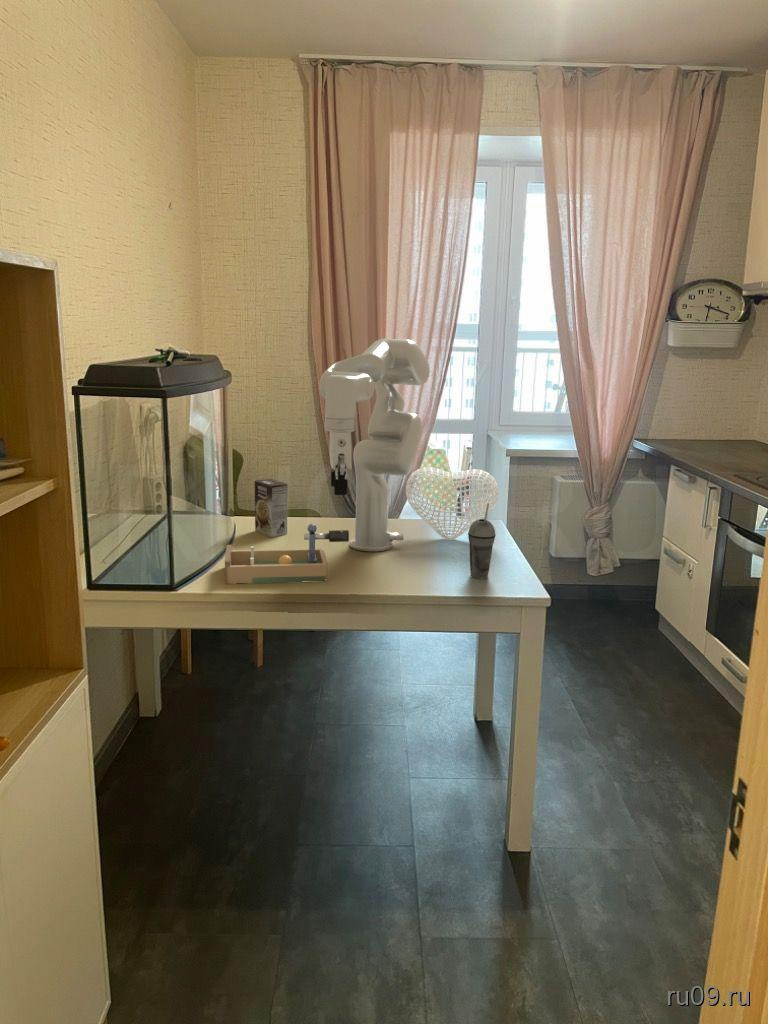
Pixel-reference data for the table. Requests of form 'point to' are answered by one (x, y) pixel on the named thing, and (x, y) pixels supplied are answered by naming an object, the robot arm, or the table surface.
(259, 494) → the coffee box
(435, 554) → the table surface
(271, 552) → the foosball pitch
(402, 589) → the table surface
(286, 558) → the foosball ball
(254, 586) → the table surface
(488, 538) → the beverage cup
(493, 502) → the heart
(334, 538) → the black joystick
